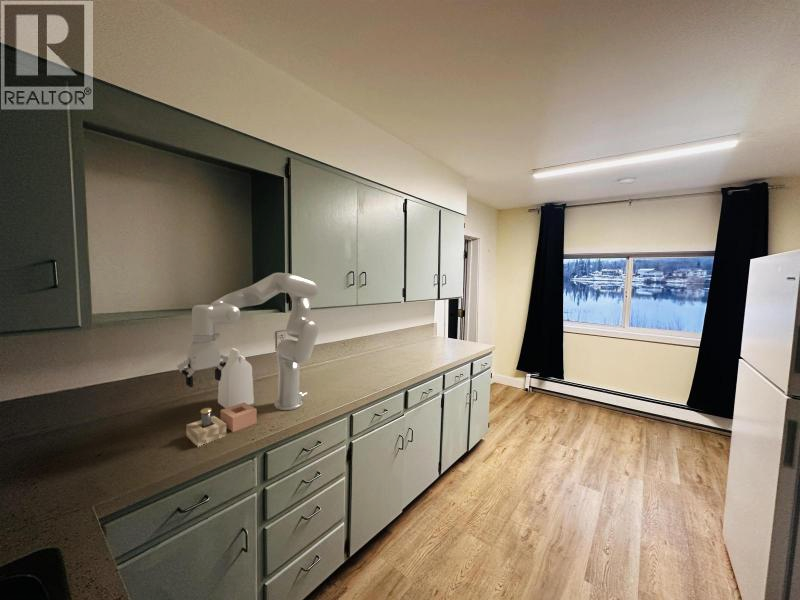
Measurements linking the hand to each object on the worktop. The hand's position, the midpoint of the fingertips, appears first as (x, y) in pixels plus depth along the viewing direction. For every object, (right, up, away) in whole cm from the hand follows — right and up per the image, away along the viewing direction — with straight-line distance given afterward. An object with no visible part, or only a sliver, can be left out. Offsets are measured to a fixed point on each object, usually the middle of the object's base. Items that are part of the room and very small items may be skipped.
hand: (204, 382), depth 122 cm
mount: (-1, -21, +3) cm, 22 cm away
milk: (-5, -18, +33) cm, 38 cm away
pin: (-1, -21, +3) cm, 22 cm away
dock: (+6, -20, +14) cm, 25 cm away
